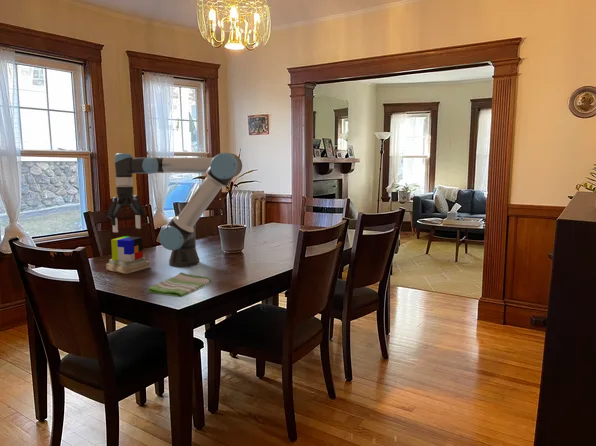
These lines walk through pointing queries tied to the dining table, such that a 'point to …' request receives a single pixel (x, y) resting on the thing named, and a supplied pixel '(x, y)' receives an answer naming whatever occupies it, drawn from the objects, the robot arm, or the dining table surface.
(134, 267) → the plinth
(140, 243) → the puzzle toy
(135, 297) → the dining table surface
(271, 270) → the dining table surface
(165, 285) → the dish towel
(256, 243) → the dining table surface
